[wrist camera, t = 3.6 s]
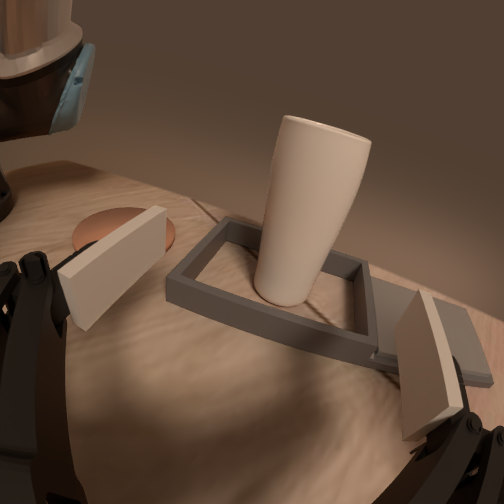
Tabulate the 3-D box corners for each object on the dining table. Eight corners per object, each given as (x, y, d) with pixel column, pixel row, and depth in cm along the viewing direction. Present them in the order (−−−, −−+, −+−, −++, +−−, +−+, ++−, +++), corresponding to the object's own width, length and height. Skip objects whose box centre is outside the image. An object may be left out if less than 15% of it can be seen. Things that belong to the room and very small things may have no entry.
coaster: (53, 243, 24) (52, 238, 23) (118, 204, 34) (118, 200, 33) (132, 283, 22) (132, 277, 22) (193, 227, 32) (193, 223, 32)
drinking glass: (328, 308, 24) (391, 148, 16) (263, 322, 21) (319, 126, 13) (293, 265, 29) (334, 126, 21) (234, 271, 26) (266, 110, 18)
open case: (166, 300, 21) (166, 276, 20) (222, 235, 32) (225, 216, 30) (489, 388, 16) (504, 373, 15) (462, 313, 27) (472, 299, 26)
